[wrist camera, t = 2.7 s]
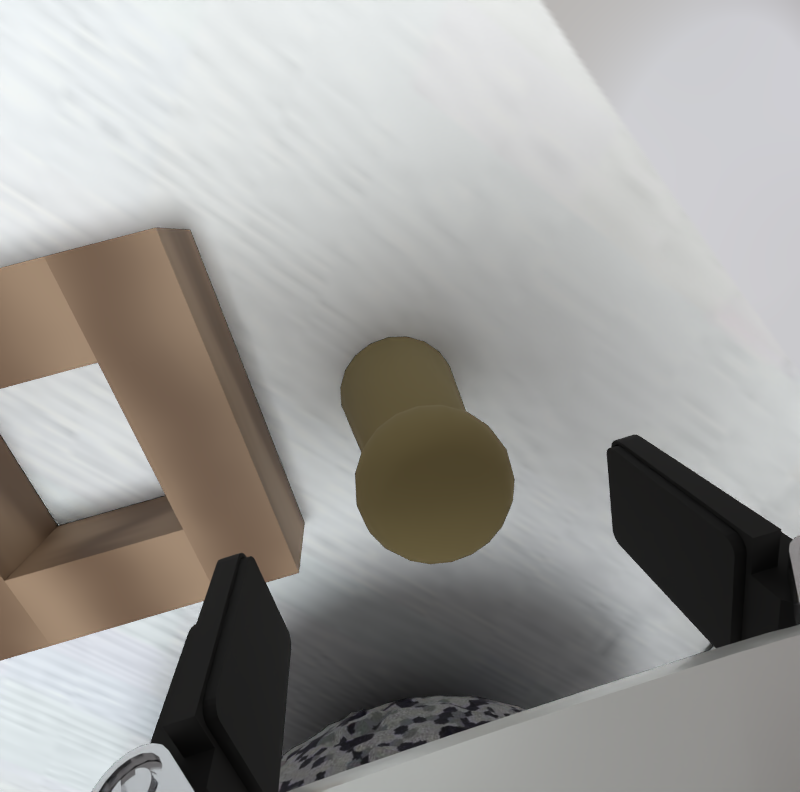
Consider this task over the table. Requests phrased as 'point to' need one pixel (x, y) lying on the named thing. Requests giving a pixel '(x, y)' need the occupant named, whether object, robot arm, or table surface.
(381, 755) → the bowl
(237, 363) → the socket block
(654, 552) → the robot arm
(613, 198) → the table surface
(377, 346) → the olive-brown rounded peg
